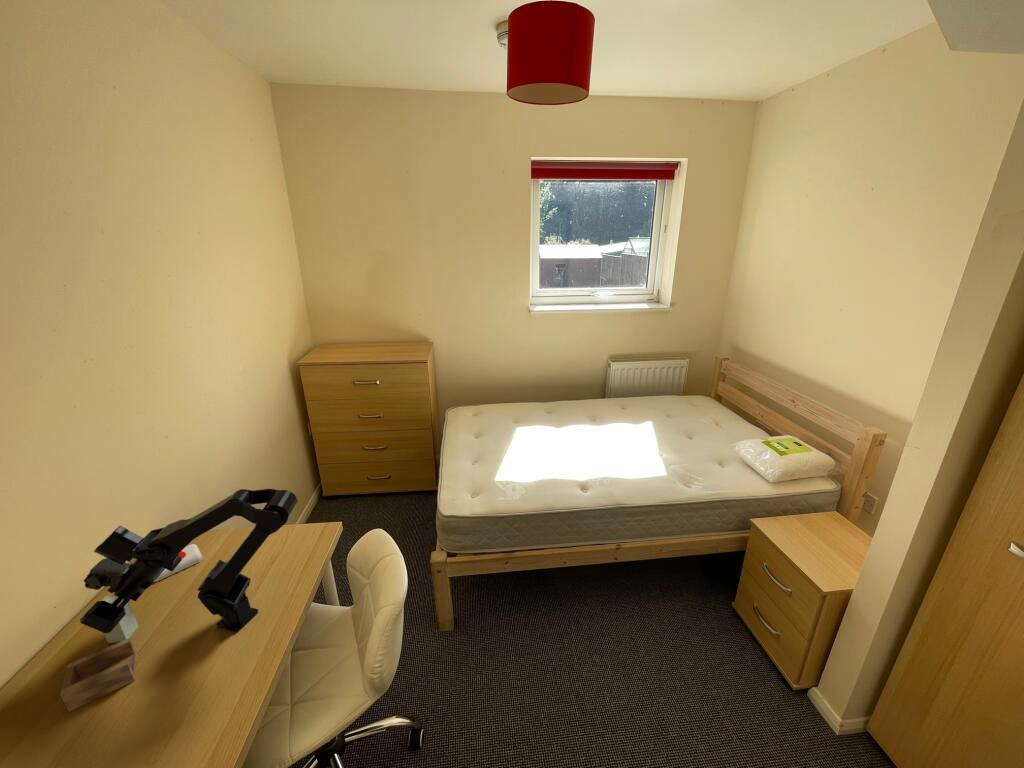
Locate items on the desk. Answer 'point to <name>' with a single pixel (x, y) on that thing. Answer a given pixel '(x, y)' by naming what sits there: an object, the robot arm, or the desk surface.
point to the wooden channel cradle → (98, 674)
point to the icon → (184, 560)
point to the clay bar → (122, 623)
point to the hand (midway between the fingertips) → (107, 613)
